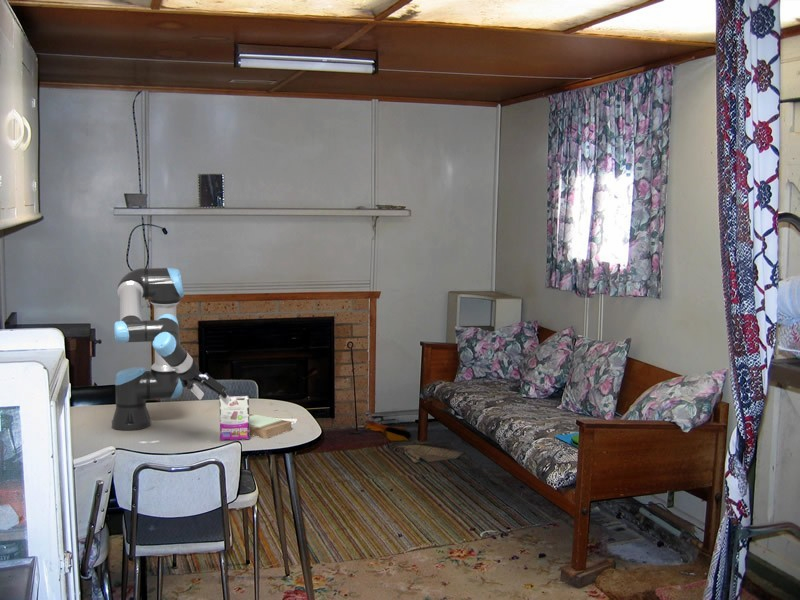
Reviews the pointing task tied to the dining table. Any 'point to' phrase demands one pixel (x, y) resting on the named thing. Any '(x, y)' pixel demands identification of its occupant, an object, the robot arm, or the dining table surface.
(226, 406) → the candy bar box
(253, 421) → the mat
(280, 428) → the brown flat block
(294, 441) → the dining table surface
